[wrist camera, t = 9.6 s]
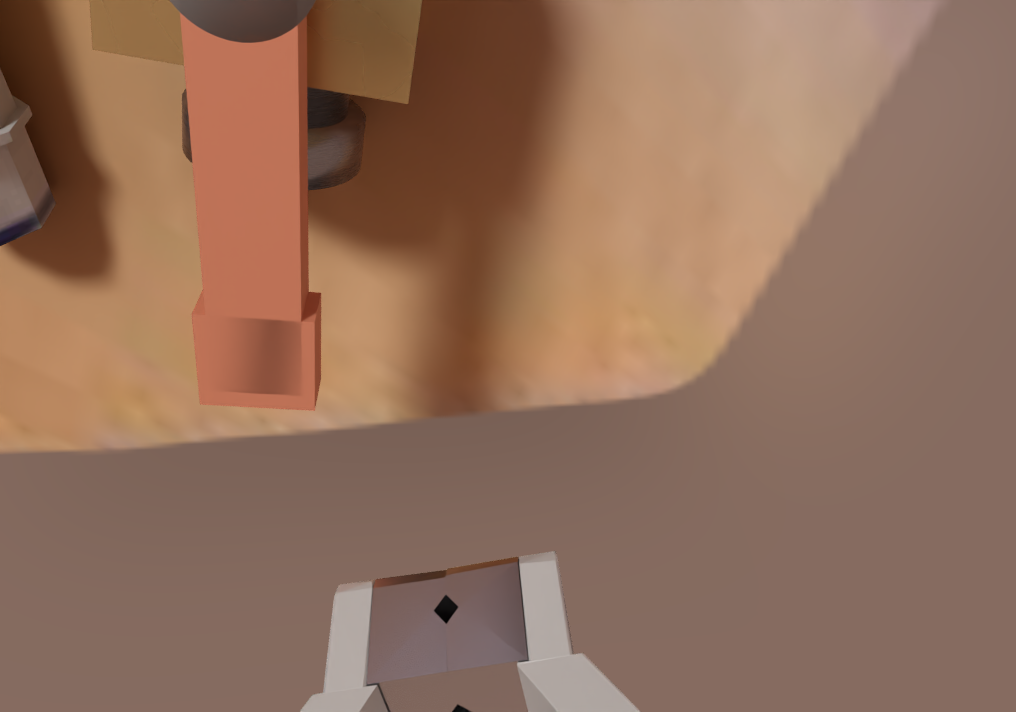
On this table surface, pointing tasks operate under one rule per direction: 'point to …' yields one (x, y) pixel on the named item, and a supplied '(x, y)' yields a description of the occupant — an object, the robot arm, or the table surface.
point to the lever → (251, 202)
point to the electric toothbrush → (19, 172)
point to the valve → (330, 66)
